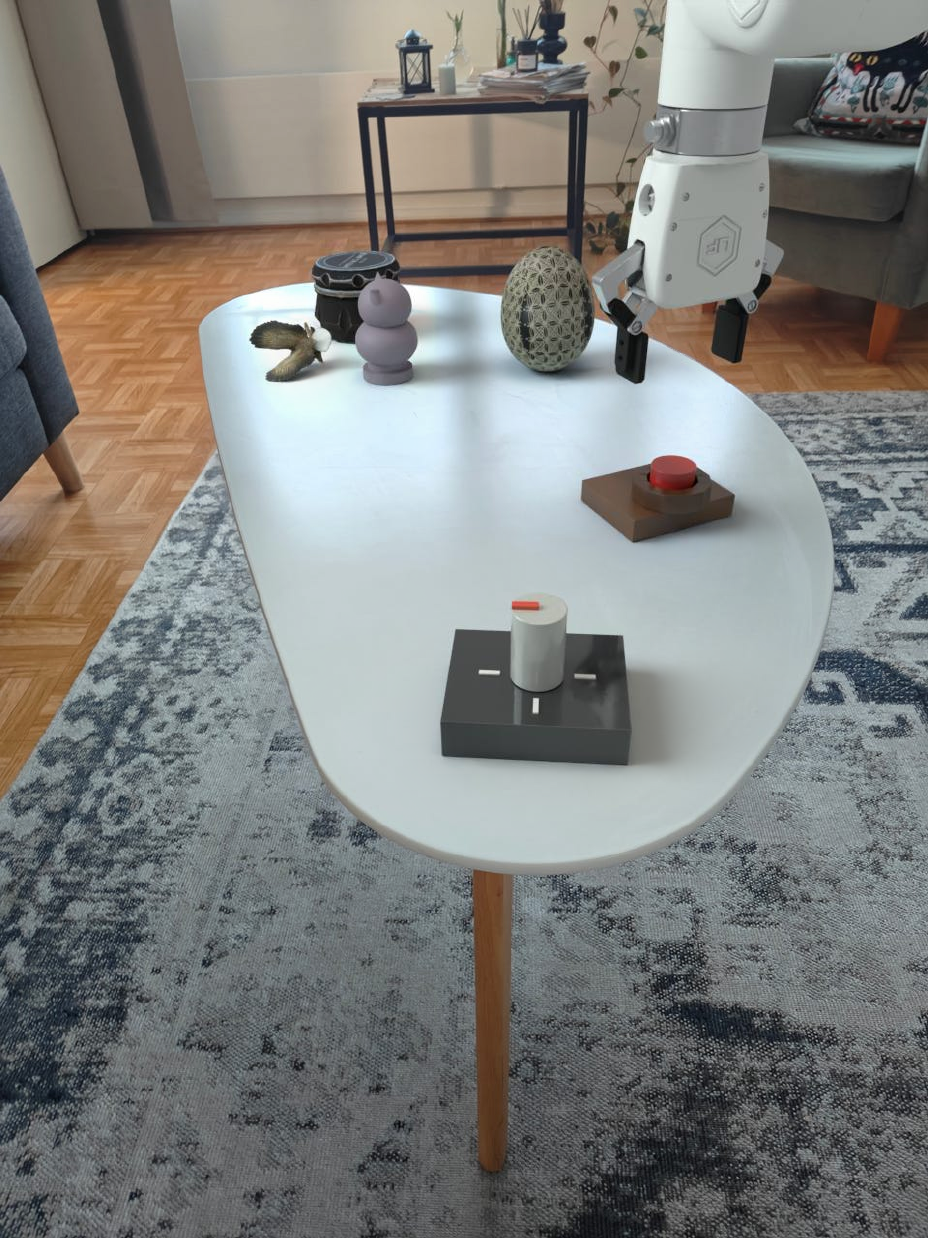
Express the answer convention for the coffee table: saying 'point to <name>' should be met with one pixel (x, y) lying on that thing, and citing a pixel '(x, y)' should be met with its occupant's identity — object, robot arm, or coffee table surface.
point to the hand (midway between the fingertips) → (678, 367)
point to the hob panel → (537, 703)
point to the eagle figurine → (291, 346)
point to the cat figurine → (386, 332)
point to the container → (347, 288)
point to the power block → (654, 502)
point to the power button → (673, 472)
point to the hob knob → (538, 641)
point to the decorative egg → (547, 309)
